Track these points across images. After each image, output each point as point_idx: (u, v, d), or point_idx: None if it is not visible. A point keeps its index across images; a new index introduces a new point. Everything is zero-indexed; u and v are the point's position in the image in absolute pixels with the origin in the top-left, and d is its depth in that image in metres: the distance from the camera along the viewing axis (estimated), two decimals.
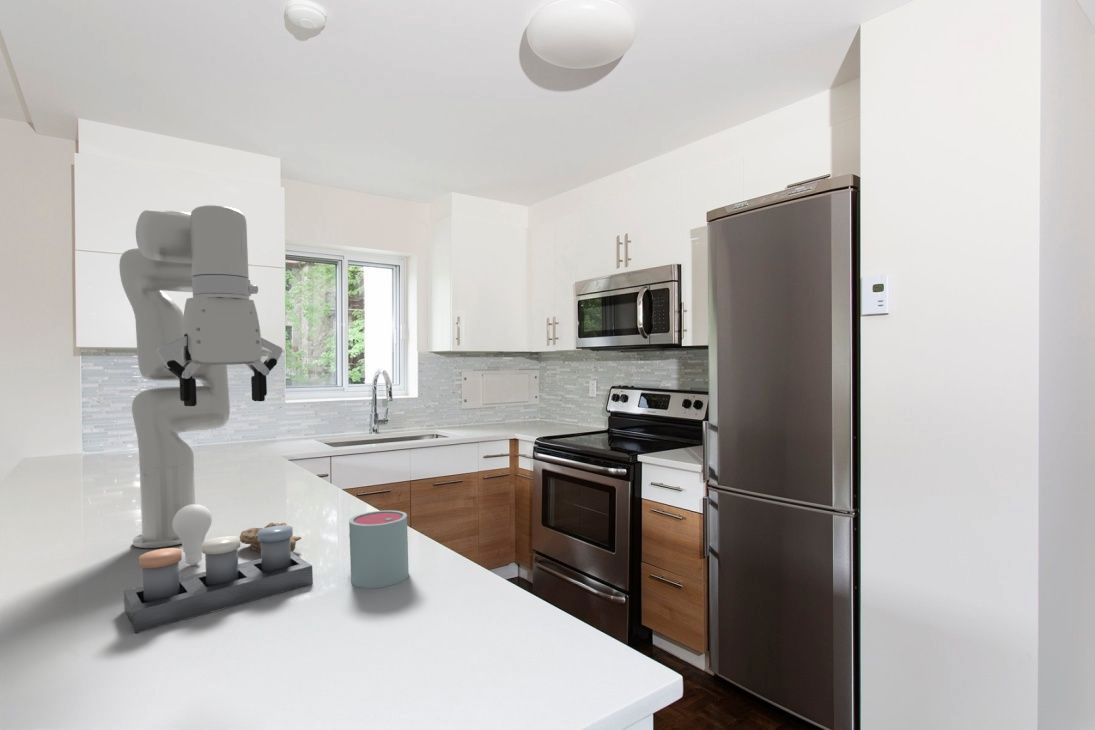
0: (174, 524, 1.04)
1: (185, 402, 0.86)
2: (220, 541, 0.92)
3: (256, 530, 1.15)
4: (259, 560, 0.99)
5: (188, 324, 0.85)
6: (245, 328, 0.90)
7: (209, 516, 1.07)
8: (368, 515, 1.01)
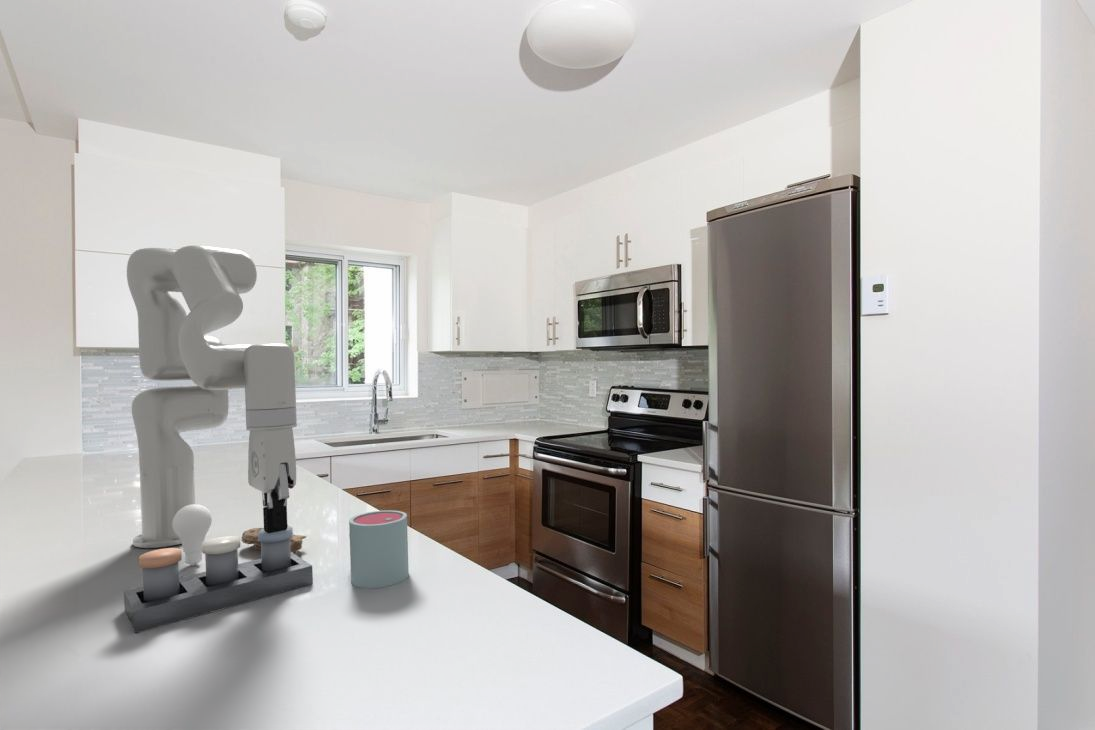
0: (174, 524, 1.04)
1: (271, 529, 0.96)
2: (220, 541, 0.92)
3: (259, 530, 1.15)
4: (259, 560, 0.99)
5: (287, 453, 0.94)
6: None
7: (209, 516, 1.07)
8: (368, 515, 1.01)
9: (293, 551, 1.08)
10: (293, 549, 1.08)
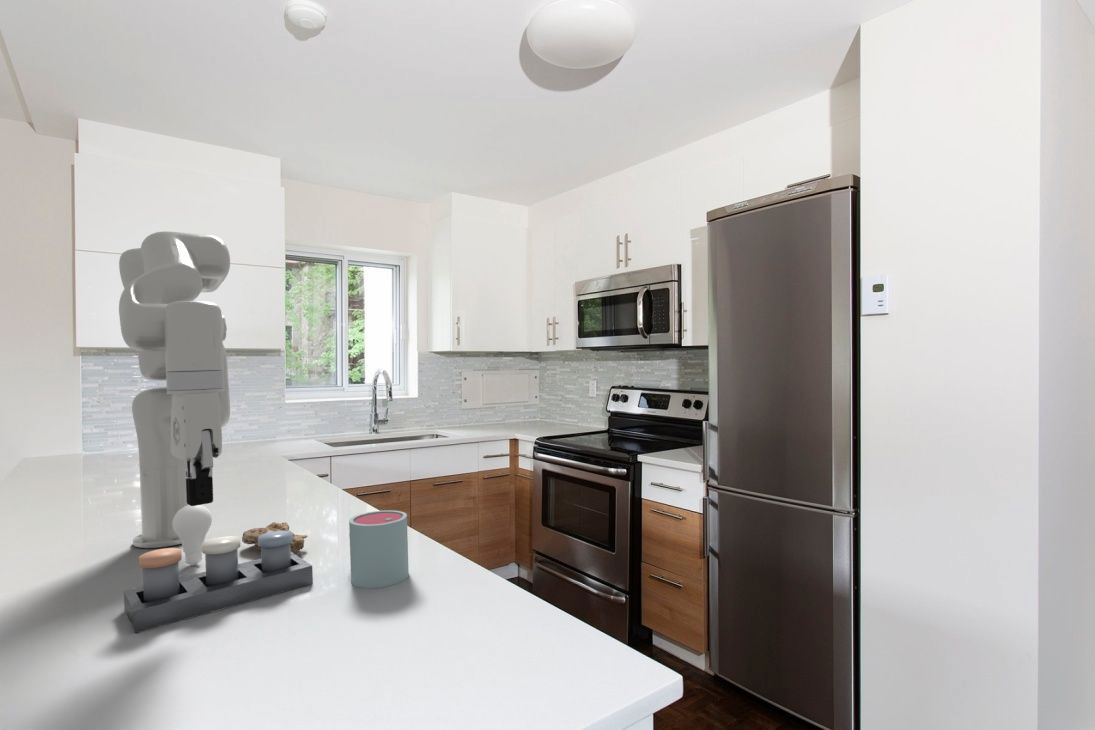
0: (174, 524, 1.04)
1: (194, 502, 0.89)
2: (220, 541, 0.92)
3: (259, 530, 1.15)
4: (259, 560, 0.99)
5: (211, 419, 0.87)
6: None
7: (209, 516, 1.07)
8: (368, 515, 1.01)
9: (295, 551, 1.08)
10: (295, 549, 1.08)
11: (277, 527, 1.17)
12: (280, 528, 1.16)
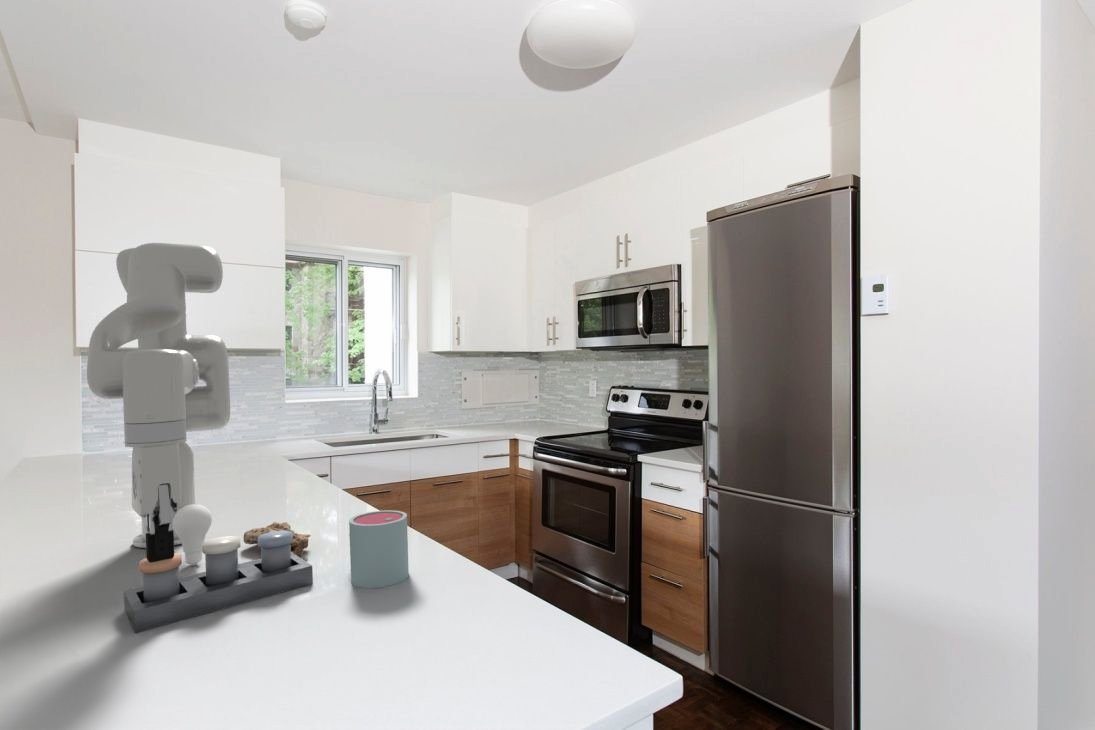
0: (174, 524, 1.04)
1: (154, 558, 0.85)
2: (220, 541, 0.92)
3: (261, 530, 1.15)
4: (259, 560, 0.99)
5: (169, 473, 0.83)
6: None
7: (209, 516, 1.07)
8: (368, 515, 1.01)
9: (300, 550, 1.09)
10: (300, 548, 1.09)
11: (279, 527, 1.17)
12: (282, 528, 1.17)
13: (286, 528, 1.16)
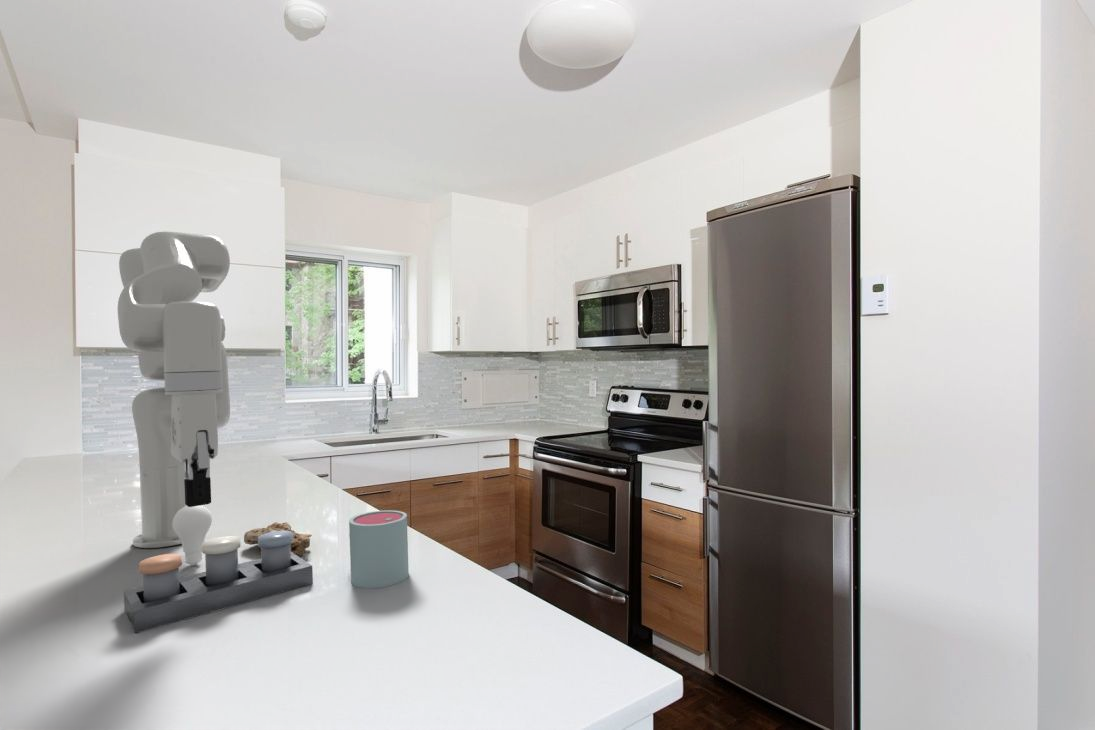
0: (174, 524, 1.04)
1: (192, 503, 0.89)
2: (220, 541, 0.92)
3: (262, 530, 1.15)
4: (259, 560, 0.99)
5: (207, 420, 0.86)
6: None
7: (209, 516, 1.07)
8: (368, 515, 1.01)
9: (301, 549, 1.09)
10: (301, 547, 1.09)
11: (279, 527, 1.17)
12: (282, 528, 1.17)
13: (287, 528, 1.17)
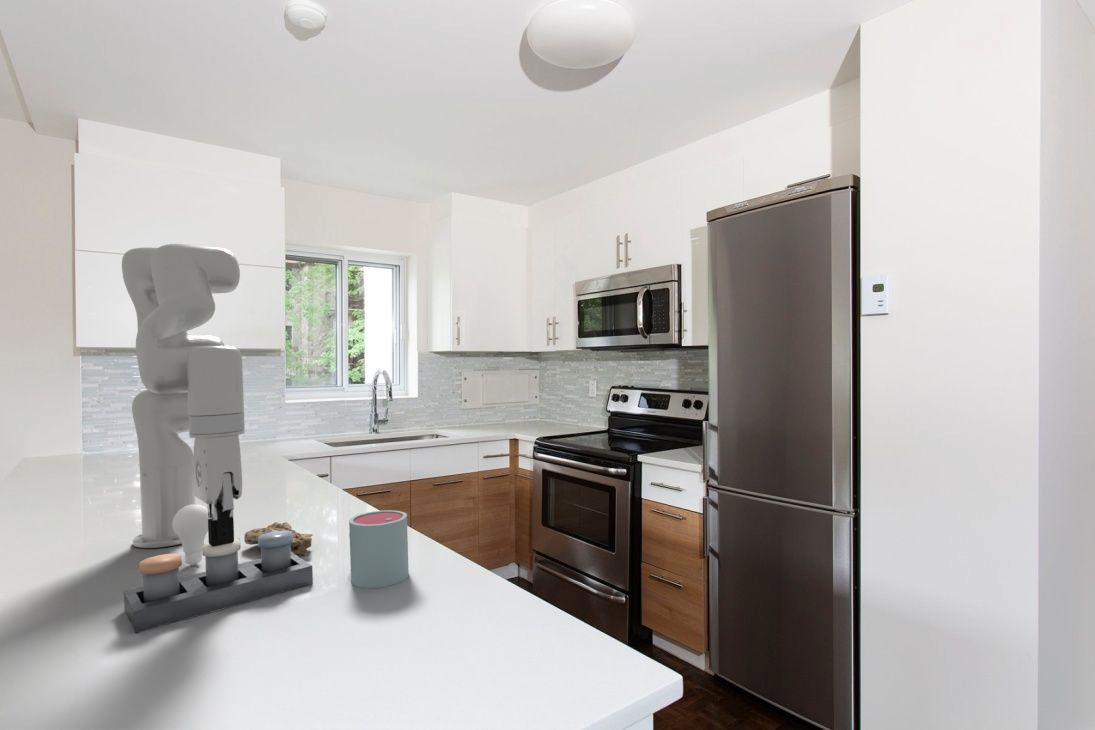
0: (174, 524, 1.04)
1: (216, 542, 0.90)
2: None
3: (263, 530, 1.15)
4: (259, 560, 0.99)
5: (232, 462, 0.88)
6: None
7: None
8: (368, 515, 1.01)
9: (303, 549, 1.09)
10: (303, 547, 1.09)
11: (280, 527, 1.17)
12: (283, 528, 1.17)
13: (287, 528, 1.17)
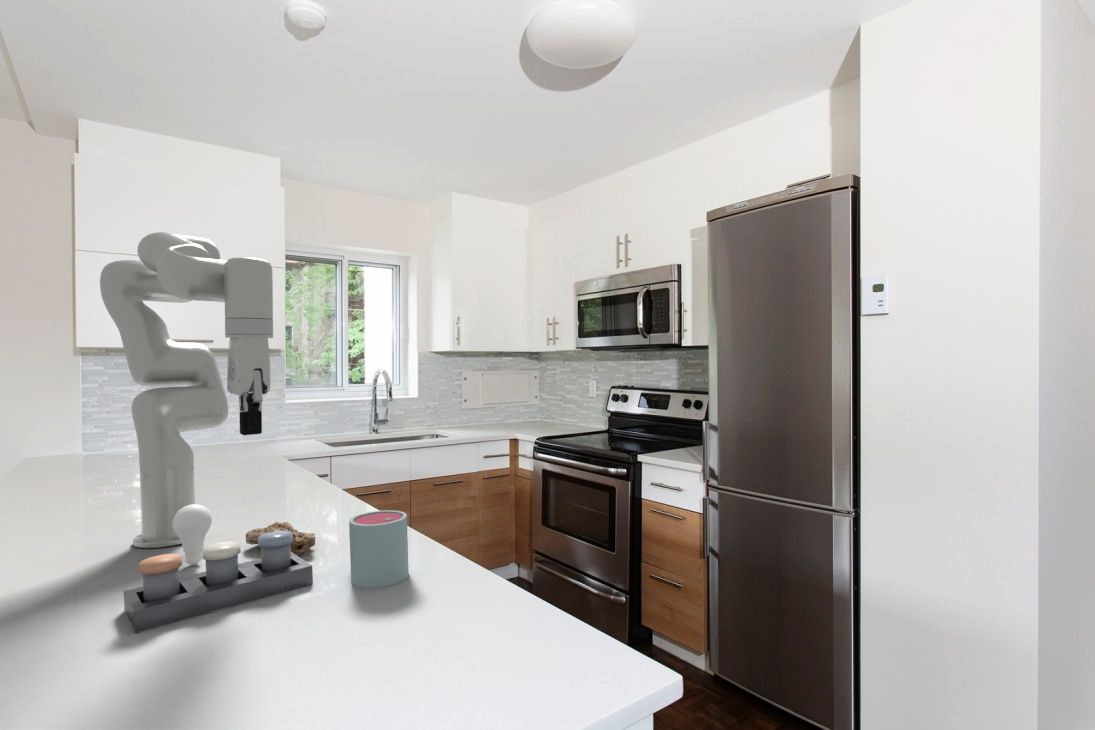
0: (174, 524, 1.04)
1: (246, 432, 1.03)
2: (220, 547, 0.92)
3: (264, 530, 1.15)
4: (259, 560, 0.99)
5: (262, 360, 1.00)
6: None
7: (209, 516, 1.07)
8: (368, 515, 1.01)
9: (307, 548, 1.10)
10: (307, 546, 1.10)
11: (281, 526, 1.17)
12: (285, 527, 1.17)
13: (289, 527, 1.17)
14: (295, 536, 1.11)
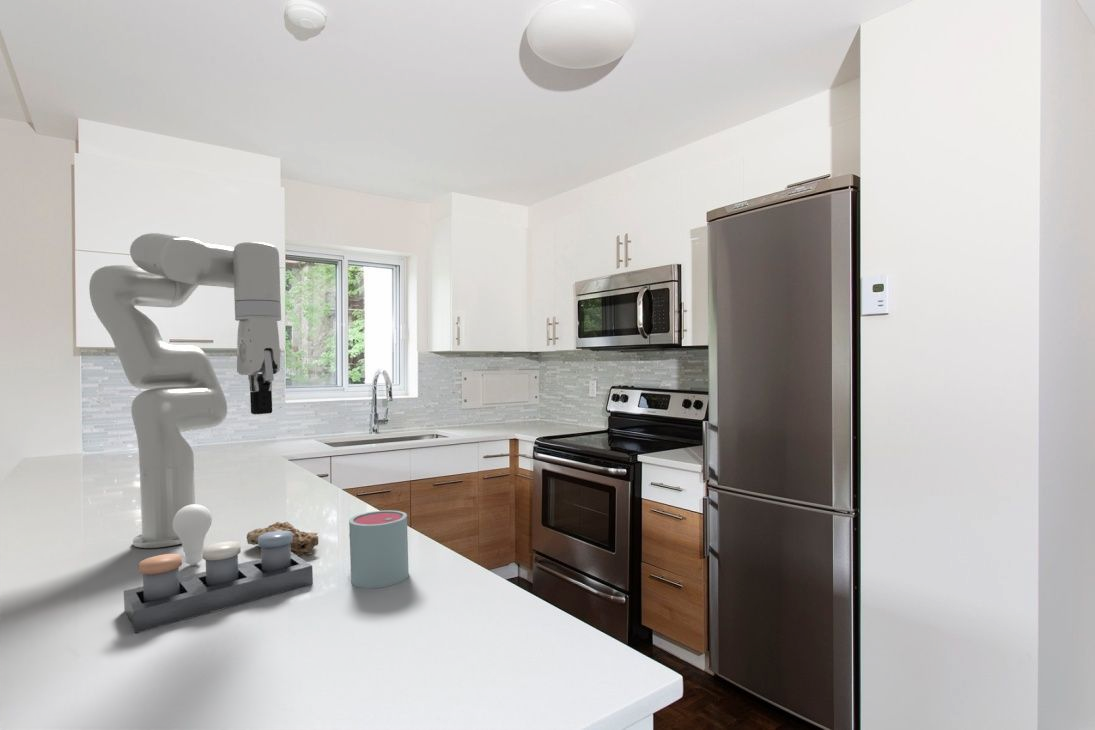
0: (174, 524, 1.04)
1: (257, 411, 1.06)
2: (220, 547, 0.92)
3: (266, 530, 1.15)
4: (259, 560, 0.99)
5: (272, 340, 1.04)
6: None
7: (209, 516, 1.07)
8: (368, 515, 1.01)
9: (311, 547, 1.10)
10: (311, 545, 1.10)
11: (283, 526, 1.17)
12: (286, 527, 1.17)
13: (290, 527, 1.17)
14: (298, 536, 1.11)
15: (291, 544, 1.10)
